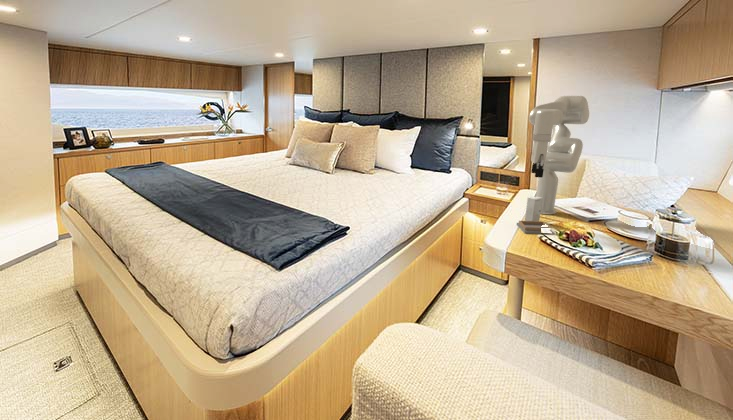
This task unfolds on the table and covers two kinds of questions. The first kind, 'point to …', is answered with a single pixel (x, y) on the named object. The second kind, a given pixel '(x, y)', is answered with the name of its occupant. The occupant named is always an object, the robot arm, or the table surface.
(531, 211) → the skincare box
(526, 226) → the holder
